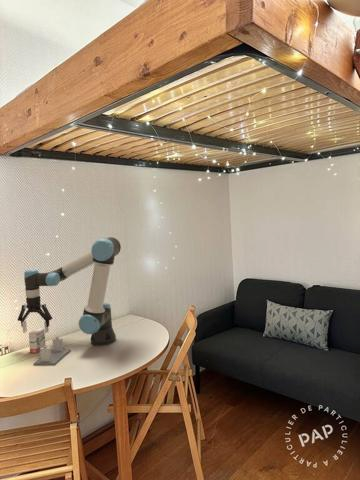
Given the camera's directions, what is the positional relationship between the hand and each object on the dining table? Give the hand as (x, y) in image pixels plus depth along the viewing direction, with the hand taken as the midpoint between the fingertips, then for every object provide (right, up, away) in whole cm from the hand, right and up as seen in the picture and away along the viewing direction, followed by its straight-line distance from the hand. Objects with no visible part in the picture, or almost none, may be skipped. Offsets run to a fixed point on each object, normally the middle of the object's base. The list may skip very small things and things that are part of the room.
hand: (35, 332), depth 193 cm
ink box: (+1, -11, +1) cm, 11 cm away
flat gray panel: (+15, -11, -12) cm, 22 cm away
